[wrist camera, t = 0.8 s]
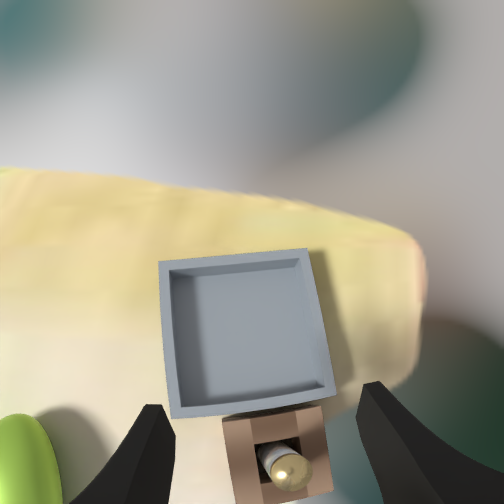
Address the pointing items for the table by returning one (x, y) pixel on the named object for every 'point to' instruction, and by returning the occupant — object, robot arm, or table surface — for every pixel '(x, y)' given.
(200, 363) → the tray
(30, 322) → the table surface
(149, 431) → the robot arm
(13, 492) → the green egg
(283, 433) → the pin block
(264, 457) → the pin
